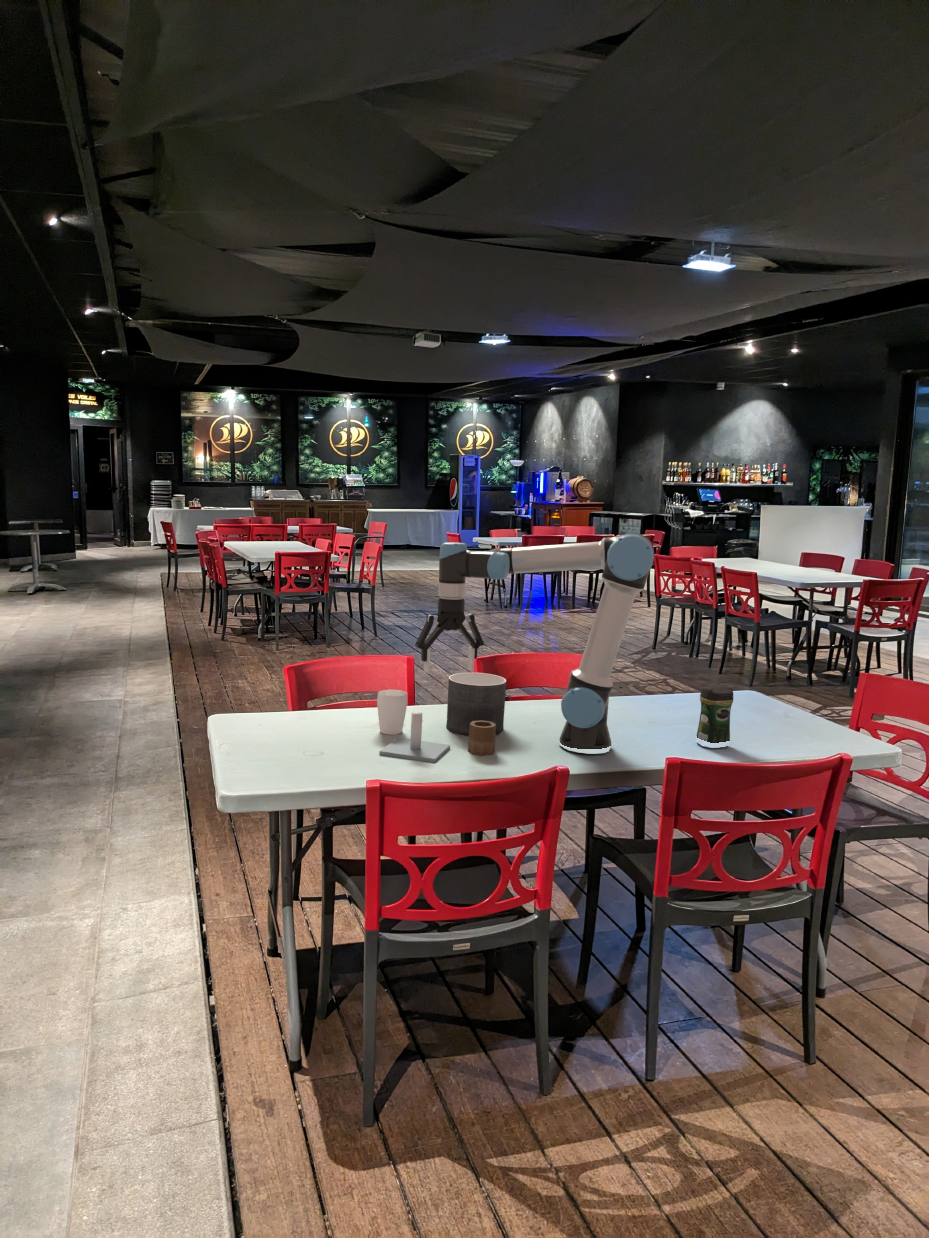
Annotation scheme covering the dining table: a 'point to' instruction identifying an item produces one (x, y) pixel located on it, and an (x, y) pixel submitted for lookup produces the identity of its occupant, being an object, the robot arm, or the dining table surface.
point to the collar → (482, 737)
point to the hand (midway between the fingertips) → (449, 671)
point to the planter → (475, 701)
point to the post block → (415, 744)
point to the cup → (391, 710)
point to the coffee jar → (715, 714)
